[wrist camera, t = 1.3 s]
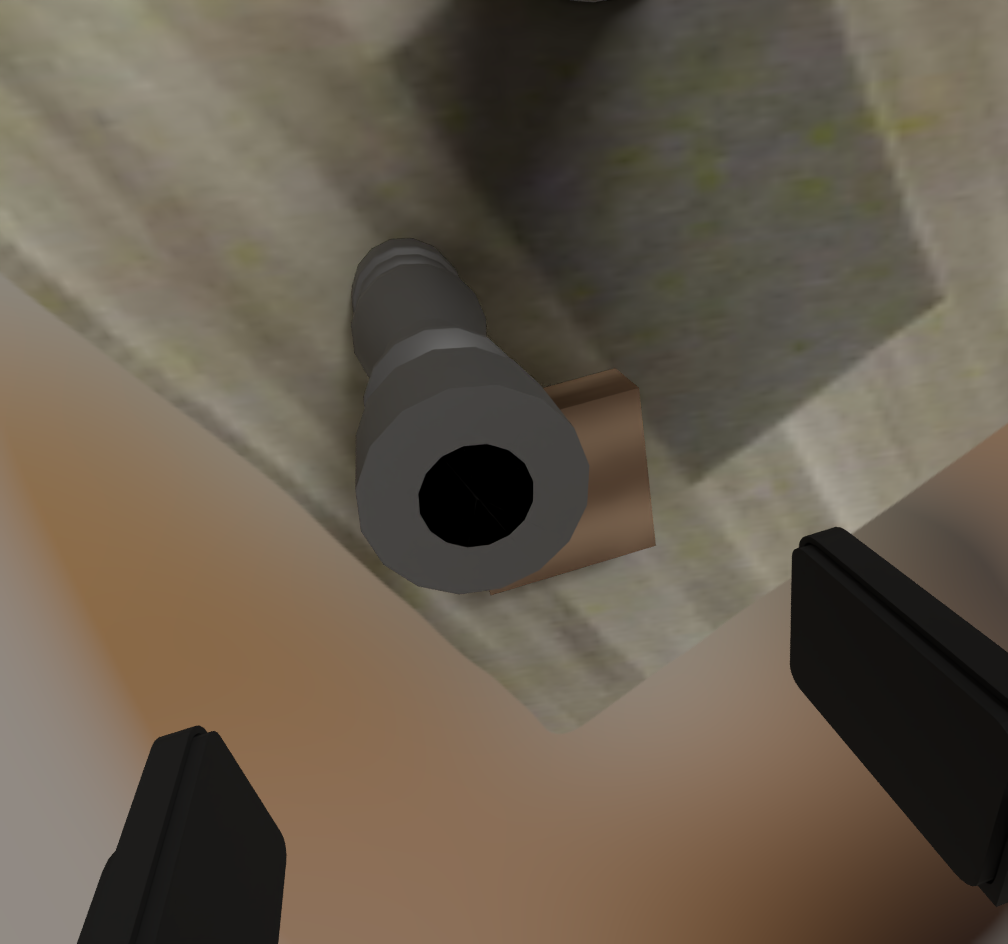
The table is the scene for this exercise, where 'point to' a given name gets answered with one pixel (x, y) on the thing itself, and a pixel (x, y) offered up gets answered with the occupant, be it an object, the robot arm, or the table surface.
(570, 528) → the candle holder
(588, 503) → the walnut plinth
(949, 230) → the table surface
